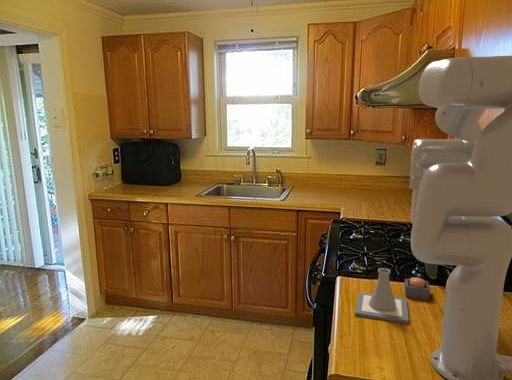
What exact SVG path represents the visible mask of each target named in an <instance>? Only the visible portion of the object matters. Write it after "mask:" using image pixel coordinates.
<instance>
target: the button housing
mask: <svg viewBox="0 0 512 380" xmlns="http://www.w3.org/2000/svg"><path fill="white" fill-rule="evenodd" d="M403 286H404V288H405V289H404V297H405V296H407V298H412V297H413V299H420V298H421V299H422V300H430V299H431V298H430V295H431V288H430V287H431V286H430V283H429V281H427V280H425V286H424V288H420V287H412V286H410V278H404V285H403Z"/></svg>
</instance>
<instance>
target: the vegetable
mask: <svg viewBox="0 0 512 380" xmlns="http://www.w3.org/2000/svg"><path fill="white" fill-rule="evenodd" d="M424 267H425V268H424V269H425V272H426V274H427V276H428V277H429V278H430V279H432V280H436V279H437V274H438V264H429V263H424Z"/></svg>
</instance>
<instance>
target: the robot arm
mask: <svg viewBox="0 0 512 380" xmlns="http://www.w3.org/2000/svg"><path fill="white" fill-rule="evenodd" d="M417 89H418V96H419V100H420V101H421V102H422V103H423V104H424V105H426V106H427V107H432V108H437V110H436V112H435V114H434V115H435V116H434V121H435V123H436V126H437V127H438V128H439V130H441V131H442V132H443V133H445V134H447V135H449V136H450V137H454V138H437V139H435V138H418V139H414V140H413V142H412V145H411V160H410V173H409V186H408V187H409V189H412V194H411V206H410V216H409V217H410V222H411V224H412V226H411V233H410V247H411V248H410V249H411V252H412V255H413V256H414V258H416V260H418V261H419V262H421V263H424V264H425V263H429V264H437V265H442V266H443V265H448V266H449V265H450V266H456V267H455V268H454V269H453V270H452V272H450V274H449V276H448V278H447V279H446V284H445V292H444V294H445V295H444V303H443V304H444V306H443V316H442V329H441V341H440V347H438V348H436V349H435V350H434V351H432V354H431V364H432V366H433V368H434V369H435V371H437V372H438V373H439V374H440V376H442V377H443V378H445V379H447V380H504V374H505V373H506V372H508V373H512V356H509V355H508V356H507V355H500V354H499V353H498V352H497V347H498V338H499V328H500V319H501V311H502V303H503V302H502V301H503V293H504V286H505V281H506V276H507V272H508V268H509V265H510V263H511V259H512V227H511V226H510V225H509V223H507V222H506V221H504V220H502V219H500V218H497V217H505V216H507V215H510V214H511V213H512V55H495V56H466V57H465V56H462V57H449V58H448V57H447V58H444V59H440V60H435V61H432V62H431V63H429V64H428V65H427V66H426V68H424V70H423V72H422V74H421V76H420V79H419V82H418V88H417ZM487 109H488V110H489V109H491V110H492V109H503V112H502V113H500V114H498V115H497V116H495V117H494V118H493V119H492V120H491V121H490V122H489V123H488V124H487V125H486V126H485V127H484V128H483V129H482V126H481V125H480V123H479V121H480V119H481V117H482V116H483V114H484V113H485V111H486V110H487Z"/></svg>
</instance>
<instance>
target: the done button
mask: <svg viewBox="0 0 512 380" xmlns="http://www.w3.org/2000/svg"><path fill="white" fill-rule="evenodd" d="M409 279H410V286H412V287H420V288H424V286H425V281H426V280H425V279H423V278H421V277H410V278H409Z"/></svg>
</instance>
